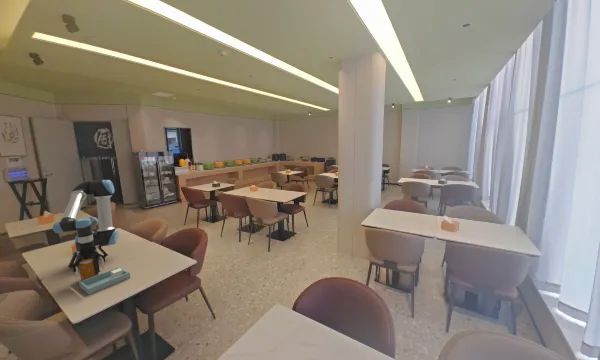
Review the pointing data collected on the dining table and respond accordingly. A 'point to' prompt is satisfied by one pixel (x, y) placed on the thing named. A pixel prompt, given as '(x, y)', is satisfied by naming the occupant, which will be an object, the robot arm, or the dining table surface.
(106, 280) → the teal tray
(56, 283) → the dining table surface
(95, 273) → the canister
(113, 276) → the cream cube
